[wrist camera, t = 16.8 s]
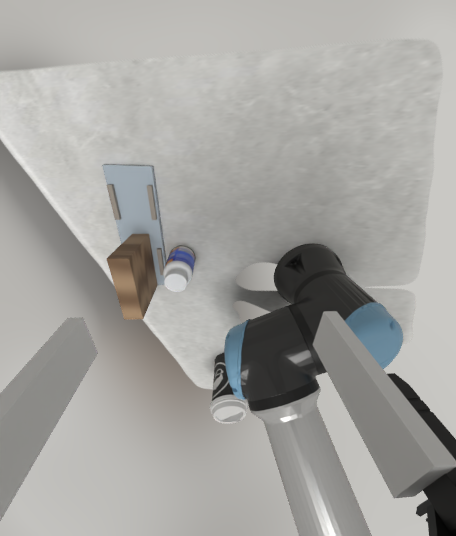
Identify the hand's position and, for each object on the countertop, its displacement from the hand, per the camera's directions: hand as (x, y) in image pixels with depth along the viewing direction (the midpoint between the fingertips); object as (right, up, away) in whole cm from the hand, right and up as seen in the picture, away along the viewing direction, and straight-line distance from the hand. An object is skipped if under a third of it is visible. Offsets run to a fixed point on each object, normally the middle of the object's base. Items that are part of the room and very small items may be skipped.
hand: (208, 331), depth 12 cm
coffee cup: (+1, -24, +50) cm, 55 cm away
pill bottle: (-9, +6, +32) cm, 34 cm away
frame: (-16, +5, +31) cm, 35 cm away
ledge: (-16, +11, +29) cm, 35 cm away
